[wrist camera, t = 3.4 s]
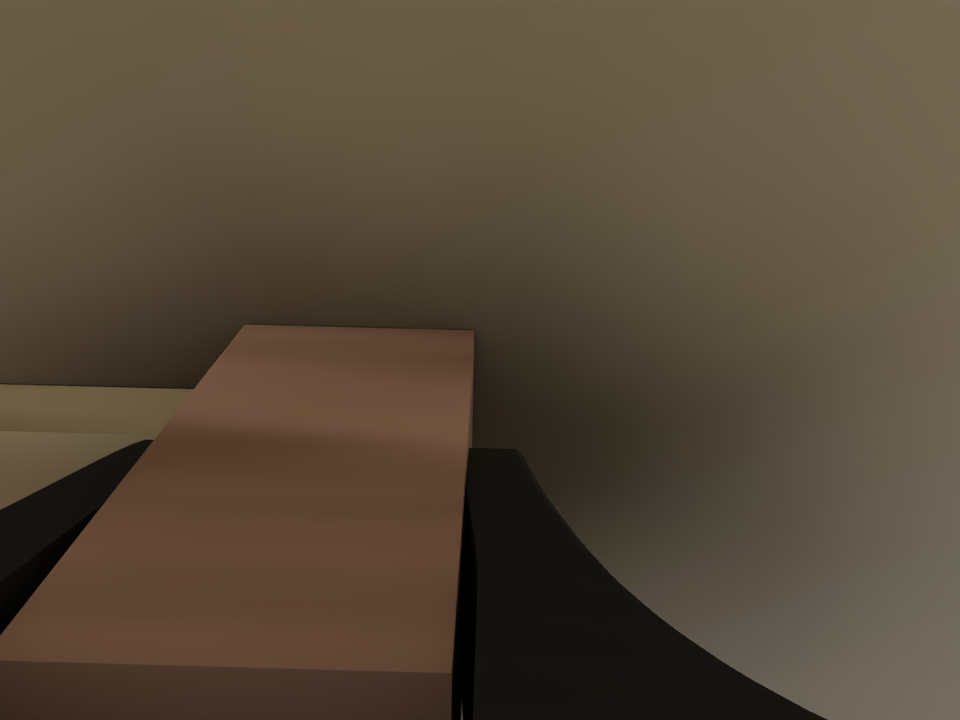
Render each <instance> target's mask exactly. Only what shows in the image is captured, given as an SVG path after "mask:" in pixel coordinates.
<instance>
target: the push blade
mask: <svg viewBox="0 0 960 720" xmlns="http://www.w3.org/2000/svg"><path fill="white" fill-rule="evenodd" d="M473 381H474V330H441V329H401V328H361V327H322V326H282V325H244V326H243V327H242V328H241V330H240V331H239V332H238V334H237V335H236V336H235V337H234V339H233V340H232V341H231V342H230V344H229V345H228V346H227V348H226V349H225V350H224V351H223V353H222V354H221V355H220V356H219V358H218V359H217V360H216V362H215V363H214V364H213V365H212V367H211V368H210V369H209V371H208V372H207V373H206V374H205V376H204V377H203V378H202V379H201V381H200V382H199V383H198V385H197V386H196V387H195V388H194V389H164V388H125V387H86V386H47V385H7V384H0V509H3V508H5V507H7V506H9V505H11V504H13V503H15V502H17V501H19V500H21V499H23V498H25V497H27V496H29V495H30V494H32V493H34V492H36V491H38V490H40V489H42V488H44V487H46V486H48V485H50V484H52V483H54V482H56V481H58V480H60V479H62V478H64V477H66V476H68V475H70V474H71V473H73V472H75V471H77V470H79V469H81V468H83V467H85V466H87V465H89V464H91V463H93V462H95V461H97V460H99V459H101V458H103V457H105V456H107V455H109V454H111V453H113V452H115V451H118V450H120V449H122V448H124V447H126V446H129V445H131V444H134V443H137V442H140V441H143V440H145V439H146V440H154V441H153V442H152V443H151V444H150V446H149V447H148V448H147V449H146V451H145V452H144V453H143V455H142V456H141V457H140V458H139V460H138V461H137V462H136V463H135V465H134V466H133V467H132V469H131V470H130V471H129V472H128V474H127V475H126V476H125V477H124V479H123V480H122V481H121V483H120V484H119V485H118V486H117V488H116V489H115V490H114V491H113V493H112V494H111V495H110V497H109V498H108V499H107V500H106V502H105V503H104V504H103V505H102V507H101V508H100V509H99V511H98V512H97V513H96V514H95V516H94V517H93V518H92V519H91V521H90V522H89V523H88V525H87V526H86V527H85V528H84V530H83V531H82V532H81V533H80V535H79V536H78V537H77V539H76V540H75V541H74V542H73V544H72V545H71V546H70V547H69V549H68V550H67V551H66V553H65V554H64V555H63V556H62V558H61V559H60V560H59V561H58V563H57V564H56V565H55V567H54V568H53V569H52V570H51V572H50V573H49V574H48V575H47V577H46V578H45V579H44V581H43V582H42V583H41V584H40V586H39V587H38V588H37V590H36V591H35V592H34V593H33V595H32V596H31V597H30V598H29V600H28V601H27V602H26V604H25V605H24V606H23V607H22V609H21V610H20V611H19V612H18V614H17V615H16V616H15V618H14V619H13V620H12V621H11V623H10V624H9V625H8V626H7V628H6V629H5V630H4V632H3V633H2V634H1V635H0V720H461V716H462V656H463V598H464V539H465V483H466V471H467V460H468V452H469V448H472V432H473Z"/></svg>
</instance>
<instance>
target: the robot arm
mask: <svg viewBox="0 0 960 720" xmlns="http://www.w3.org/2000/svg"><path fill="white" fill-rule="evenodd" d="M153 441H154V440H146V439H145V440H143V441H140V442H137V443H134V444H131V445H129V446H126V447H124V448H122V449H120V450H118V451H115V452H113V453H111V454H109V455H107V456H105V457H103V458H101V459H99V460H97V461H95V462H93V463H91V464H89V465H87V466H85V467H83V468H81V469H79V470H77V471H75V472H73V473H71V474H70V475H68V476H66V477H64V478H62V479H60V480H58V481H56V482H54V483H52V484H50V485H48V486H46V487H44V488H42V489H40V490H38V491H36V492H34V493H32V494H30V495H29V496H27V497H25V498H23V499H21V500H19V501H17V502H15V503H13V504H11V505H9V506H7V507H5V508H3V509H0V635H1V634H2V633H3V632H4V630H5V629H6V628H7V626H8V625H9V624H10V623H11V621H12V620H13V619H14V618H15V616H16V615H17V614H18V612H19V611H20V610H21V609H22V607H23V606H24V605H25V604H26V602H27V601H28V600H29V598H30V597H31V596H32V595H33V593H34V592H35V591H36V590H37V588H38V587H39V586H40V584H41V583H42V582H43V581H44V579H45V578H46V577H47V575H48V574H49V573H50V572H51V570H52V569H53V568H54V567H55V565H56V564H57V563H58V561H59V560H60V559H61V558H62V556H63V555H64V554H65V553H66V551H67V550H68V549H69V547H70V546H71V545H72V544H73V542H74V541H75V540H76V539H77V537H78V536H79V535H80V533H81V532H82V531H83V530H84V528H85V527H86V526H87V525H88V523H89V522H90V521H91V519H92V518H93V517H94V516H95V514H96V513H97V512H98V511H99V509H100V508H101V507H102V505H103V504H104V503H105V502H106V500H107V499H108V498H109V497H110V495H111V494H112V493H113V491H114V490H115V489H116V488H117V486H118V485H119V484H120V483H121V481H122V480H123V479H124V477H125V476H126V475H127V474H128V472H129V471H130V470H131V469H132V467H133V466H134V465H135V463H136V462H137V461H138V460H139V458H140V457H141V456H142V455H143V453H144V452H145V451H146V449H147V448H148V447H149V446H150V444H151V443H152V442H153ZM462 712H463V720H827V719H825V718H823V717H821V716H818V715H816V714H814V713H812V712H810V711H808V710H806V709H804V708H802V707H801V706H799V705H797V704H795V703H793V702H791V701H790V700H788V699H786V698H784V697H782V696H780V695H779V694H777V693H775V692H773V691H771V690H769V689H768V688H766V687H764V686H762V685H760V684H758V683H757V682H755V681H753V680H751V679H750V678H748V677H746V676H745V675H743V674H742V673H740V672H738V671H737V670H735V669H733V668H732V667H730V666H728V665H727V664H725V663H723V662H722V661H720V660H719V659H717V658H716V657H714V656H713V655H711V654H710V653H709V652H707V651H706V650H704V649H703V648H701V647H700V646H698V645H697V644H695V643H694V642H693V641H691V640H690V639H688V638H687V637H685V636H684V635H682V634H681V633H680V632H678V631H677V630H675V629H674V628H673V627H671V626H670V625H669V624H667V623H666V622H665V621H664V620H662V619H661V618H660V617H658V616H657V615H656V614H655V613H653V612H652V611H651V610H650V609H649V608H648V607H646V606H645V605H644V604H643V603H642V602H641V601H639V600H638V599H637V598H636V597H635V596H634V595H632V594H631V593H630V592H629V591H628V590H627V589H626V588H624V587H623V586H622V585H621V584H620V583H619V582H618V581H617V580H616V579H615V578H614V577H613V576H612V575H611V574H610V573H609V572H608V571H607V570H606V569H605V568H604V567H603V566H602V564H601V563H600V562H599V561H598V560H597V559H596V558H595V557H594V556H593V555H592V554H591V552H590V551H589V550H588V549H587V548H586V547H585V545H584V544H583V543H582V542H581V541H580V540H579V538H578V537H577V536H576V535H575V533H574V532H573V531H572V529H571V528H570V527H569V526H568V524H567V523H566V522H565V520H564V519H563V518H562V517H561V515H560V514H559V513H558V511H557V510H556V509H555V507H554V506H553V504H552V503H551V502H550V500H549V499H548V497H547V496H546V494H545V493H544V491H543V490H542V488H541V487H540V485H539V484H538V482H537V480H536V479H535V477H534V475H533V474H532V472H531V470H530V468H529V466H528V464H527V462H526V460H525V458H524V457H523V456H522V455H521V454H520V453H519V452H518V451H517V450H516V449H490V448H469V452H468V460H467V471H466V483H465V539H464V598H463V656H462Z"/></svg>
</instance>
